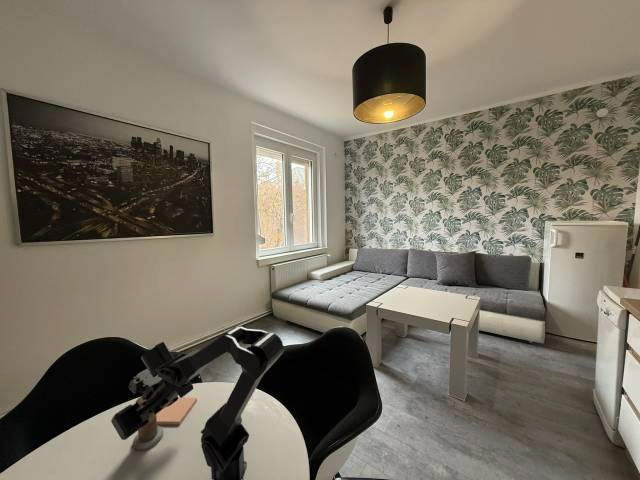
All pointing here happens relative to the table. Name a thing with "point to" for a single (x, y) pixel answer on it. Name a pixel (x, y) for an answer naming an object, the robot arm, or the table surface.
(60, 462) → the table surface
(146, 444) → the tamper
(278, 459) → the table surface
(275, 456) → the table surface
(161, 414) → the tile rest
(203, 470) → the table surface
